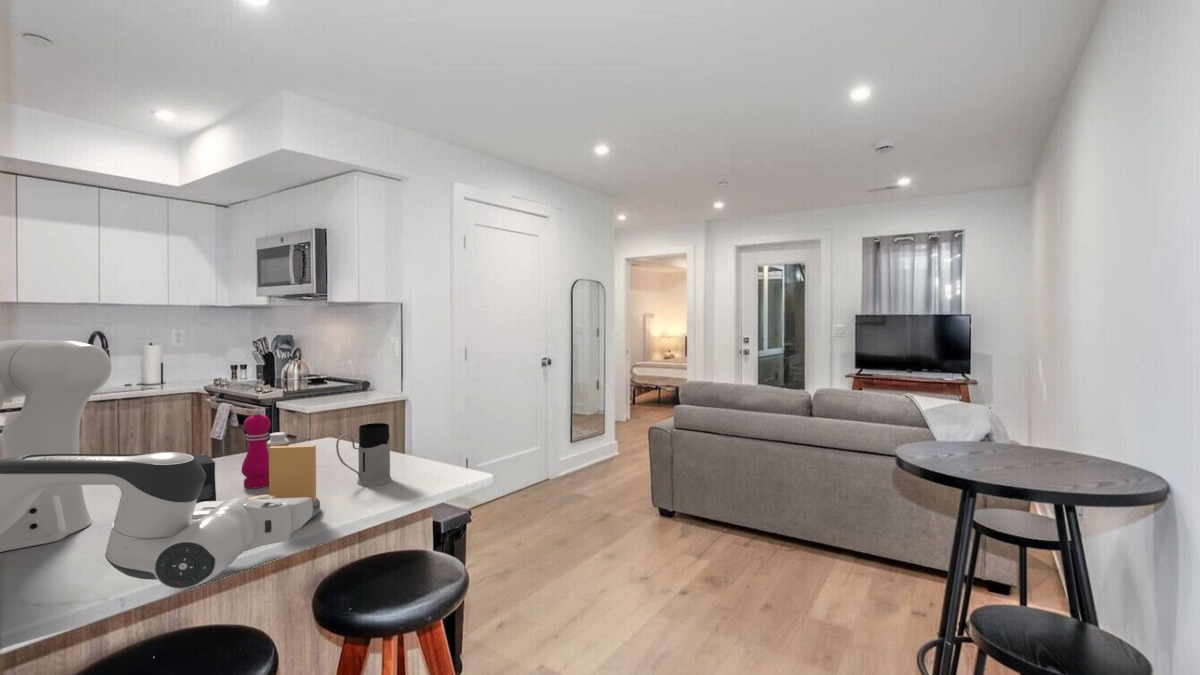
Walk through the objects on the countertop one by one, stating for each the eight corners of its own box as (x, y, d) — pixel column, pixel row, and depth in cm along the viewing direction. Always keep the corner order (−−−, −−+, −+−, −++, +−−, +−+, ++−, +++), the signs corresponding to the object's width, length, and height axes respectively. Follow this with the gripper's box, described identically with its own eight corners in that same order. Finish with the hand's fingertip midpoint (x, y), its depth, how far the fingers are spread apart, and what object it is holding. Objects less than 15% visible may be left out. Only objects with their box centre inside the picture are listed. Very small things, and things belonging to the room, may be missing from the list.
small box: (174, 501, 133) (173, 457, 133) (207, 495, 138) (206, 452, 137) (183, 512, 126) (182, 466, 125) (217, 505, 130) (216, 461, 130)
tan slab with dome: (235, 515, 118) (234, 451, 117) (250, 504, 125) (249, 444, 124) (309, 511, 120) (309, 449, 120) (320, 501, 127) (319, 442, 127)
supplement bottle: (293, 466, 164) (293, 431, 164) (280, 471, 158) (280, 435, 158) (275, 465, 164) (275, 431, 164) (262, 471, 159) (261, 435, 159)
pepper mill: (263, 489, 143) (262, 411, 142) (235, 488, 143) (233, 410, 142) (280, 480, 150) (279, 406, 149) (253, 480, 150) (252, 406, 149)
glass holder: (397, 481, 151) (397, 425, 150) (343, 493, 140) (343, 433, 140) (382, 474, 157) (382, 421, 156) (330, 485, 146) (329, 428, 146)
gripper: (167, 547, 95) (209, 518, 109) (296, 540, 99) (322, 513, 113) (167, 510, 95) (209, 486, 109) (296, 505, 99) (321, 482, 112)
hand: (267, 499), depth 111 cm, fingers closed
